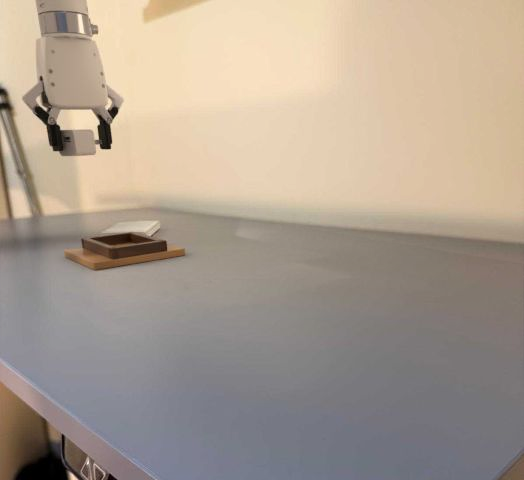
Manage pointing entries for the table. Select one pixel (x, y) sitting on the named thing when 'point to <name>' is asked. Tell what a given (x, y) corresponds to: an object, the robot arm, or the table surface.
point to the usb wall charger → (78, 143)
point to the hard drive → (133, 227)
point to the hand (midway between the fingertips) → (82, 149)
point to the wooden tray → (121, 250)
